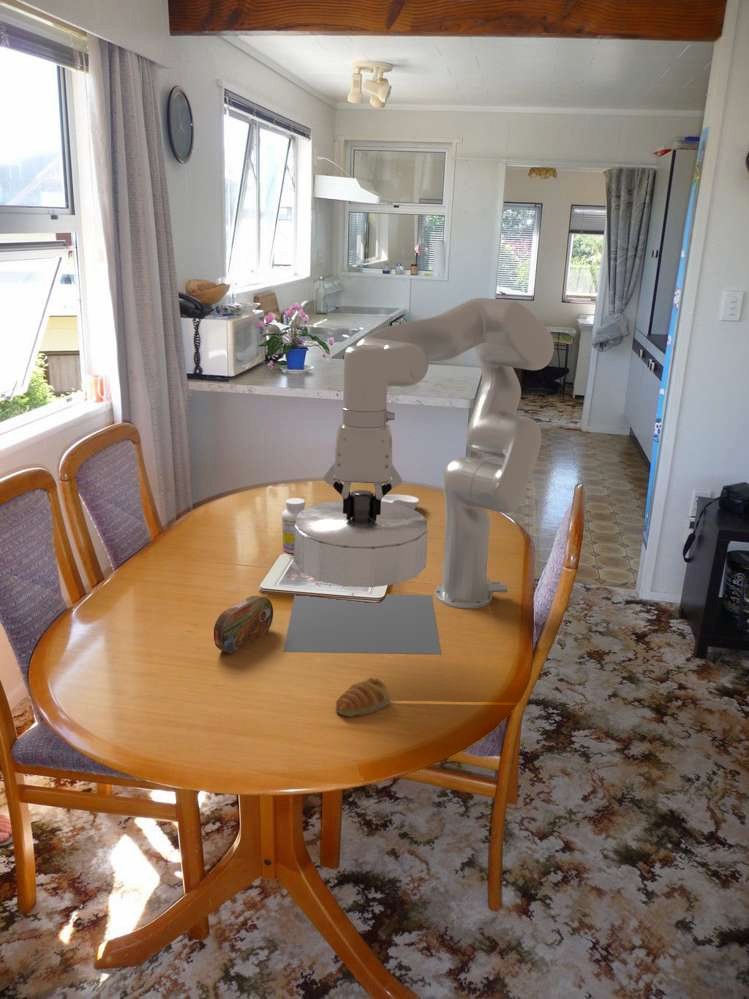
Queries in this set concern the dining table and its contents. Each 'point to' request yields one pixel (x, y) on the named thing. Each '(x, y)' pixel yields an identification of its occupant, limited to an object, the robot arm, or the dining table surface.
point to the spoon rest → (402, 500)
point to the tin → (243, 623)
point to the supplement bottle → (290, 522)
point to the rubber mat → (363, 626)
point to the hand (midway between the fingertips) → (361, 516)
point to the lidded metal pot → (360, 543)
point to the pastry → (363, 698)
